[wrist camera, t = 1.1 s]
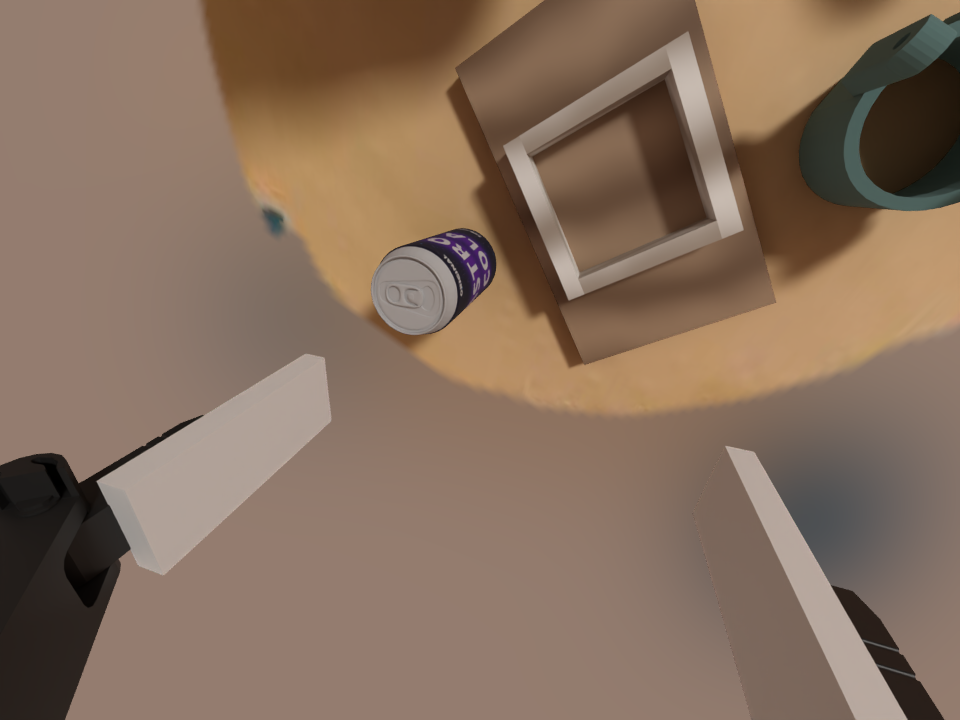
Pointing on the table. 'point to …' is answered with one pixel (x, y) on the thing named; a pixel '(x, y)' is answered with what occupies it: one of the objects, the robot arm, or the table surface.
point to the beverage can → (432, 280)
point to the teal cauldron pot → (844, 110)
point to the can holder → (621, 168)
